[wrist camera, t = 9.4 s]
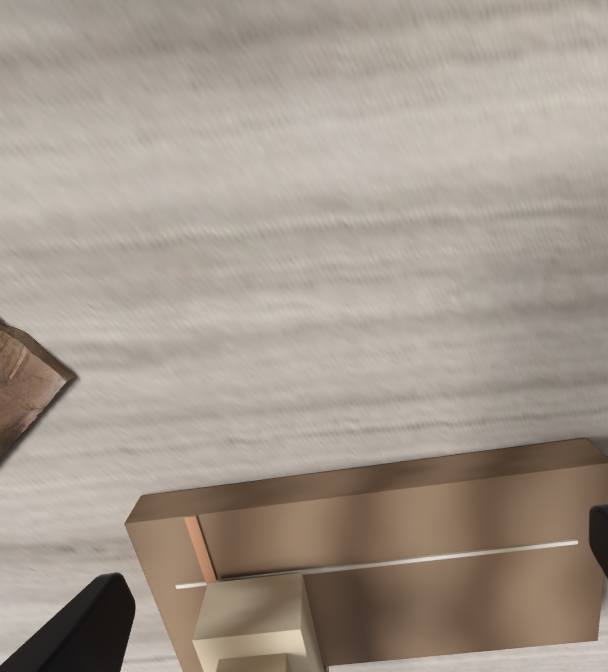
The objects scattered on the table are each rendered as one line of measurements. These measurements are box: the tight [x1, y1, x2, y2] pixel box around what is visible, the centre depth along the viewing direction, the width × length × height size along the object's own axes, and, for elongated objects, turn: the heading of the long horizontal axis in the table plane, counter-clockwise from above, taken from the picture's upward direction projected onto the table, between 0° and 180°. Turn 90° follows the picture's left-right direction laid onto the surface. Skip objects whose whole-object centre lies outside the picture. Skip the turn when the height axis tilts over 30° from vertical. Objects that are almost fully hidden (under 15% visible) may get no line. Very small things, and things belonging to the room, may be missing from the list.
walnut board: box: [125, 438, 608, 672], centre depth 21 cm, size 24×12×2 cm, turn 100°
